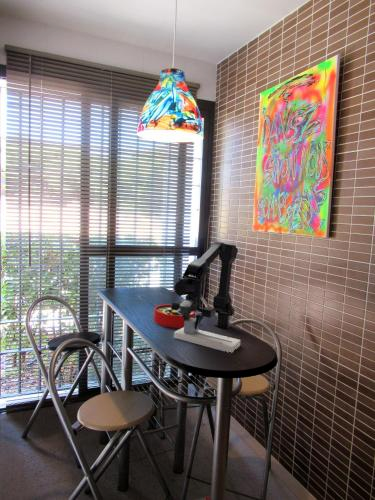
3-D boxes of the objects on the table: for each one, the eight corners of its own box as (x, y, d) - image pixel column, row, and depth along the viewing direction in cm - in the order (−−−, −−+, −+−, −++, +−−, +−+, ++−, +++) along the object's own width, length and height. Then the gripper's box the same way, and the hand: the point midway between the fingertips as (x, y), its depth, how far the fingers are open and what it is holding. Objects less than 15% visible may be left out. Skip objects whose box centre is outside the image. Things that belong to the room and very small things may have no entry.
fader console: (184, 331, 161) (185, 326, 161) (240, 345, 150) (240, 339, 149) (173, 337, 153) (174, 331, 152) (231, 353, 141) (232, 346, 140)
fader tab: (190, 328, 158) (191, 317, 157) (198, 330, 156) (199, 319, 155) (183, 332, 152) (184, 320, 152) (192, 334, 151) (193, 322, 150)
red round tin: (146, 307, 176) (176, 302, 190) (145, 319, 176) (175, 313, 190) (173, 318, 162) (204, 312, 176) (172, 330, 162) (203, 323, 176)
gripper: (165, 291, 150) (162, 328, 151) (206, 300, 141) (203, 338, 143) (178, 287, 160) (175, 322, 161) (217, 295, 151) (214, 331, 153)
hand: (191, 328), depth 154 cm, fingers closed on fader tab, 4 cm apart
